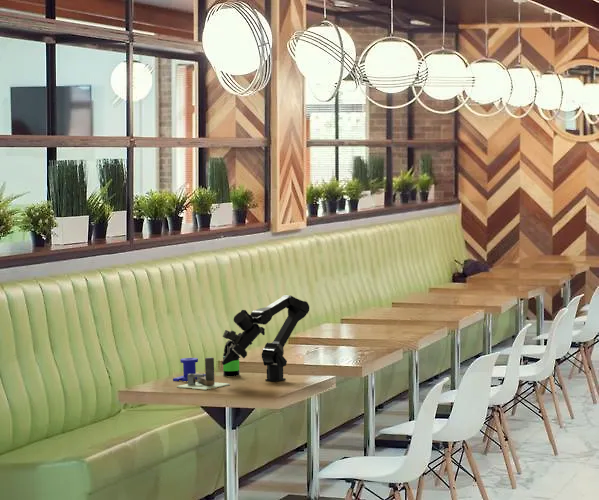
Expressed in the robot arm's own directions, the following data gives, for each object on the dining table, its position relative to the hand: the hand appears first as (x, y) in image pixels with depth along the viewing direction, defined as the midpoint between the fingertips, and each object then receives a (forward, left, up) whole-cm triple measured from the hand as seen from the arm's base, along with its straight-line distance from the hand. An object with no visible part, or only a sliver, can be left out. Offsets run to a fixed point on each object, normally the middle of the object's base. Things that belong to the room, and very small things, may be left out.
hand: (222, 364), depth 503 cm
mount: (+27, -9, -10) cm, 30 cm away
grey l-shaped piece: (+8, +1, -8) cm, 12 cm away
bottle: (+17, -25, -9) cm, 32 cm away
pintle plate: (+8, +4, -9) cm, 12 cm away
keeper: (+11, +5, -9) cm, 15 cm away
